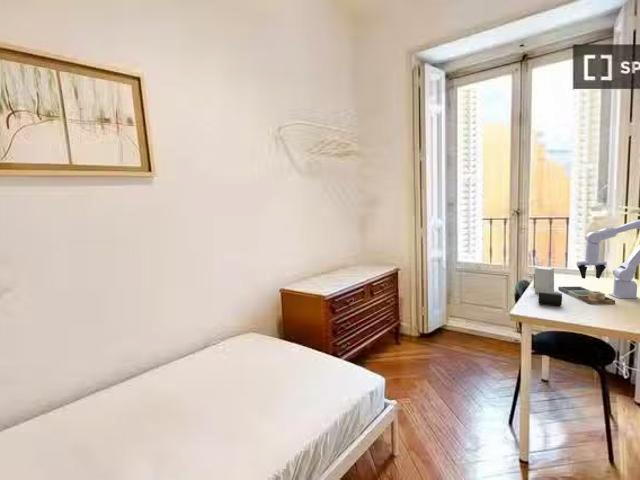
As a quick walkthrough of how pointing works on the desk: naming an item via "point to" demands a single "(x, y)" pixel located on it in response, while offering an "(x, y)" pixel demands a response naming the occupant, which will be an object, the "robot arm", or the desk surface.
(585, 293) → the sage tray
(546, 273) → the skincare box
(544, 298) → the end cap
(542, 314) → the desk surface
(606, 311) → the desk surface
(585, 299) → the walnut tray
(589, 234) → the robot arm
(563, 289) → the charcoal tray
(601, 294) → the maple letter cube
